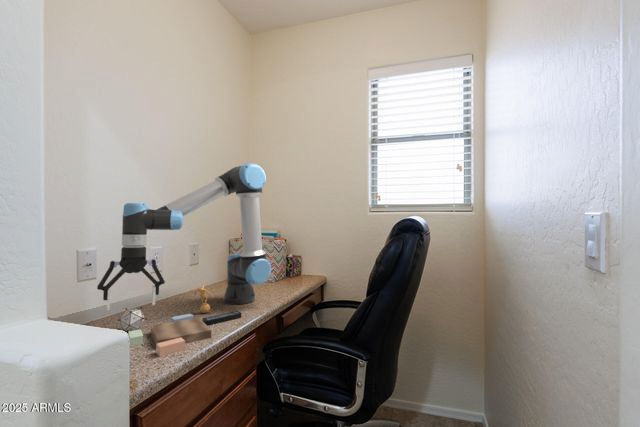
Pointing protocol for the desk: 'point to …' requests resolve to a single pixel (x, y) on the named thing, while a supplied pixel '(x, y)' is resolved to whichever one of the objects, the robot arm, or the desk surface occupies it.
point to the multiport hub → (222, 318)
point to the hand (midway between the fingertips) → (131, 306)
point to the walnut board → (181, 331)
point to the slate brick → (182, 317)
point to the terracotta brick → (170, 347)
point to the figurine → (205, 307)
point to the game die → (132, 319)
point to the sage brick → (135, 337)
